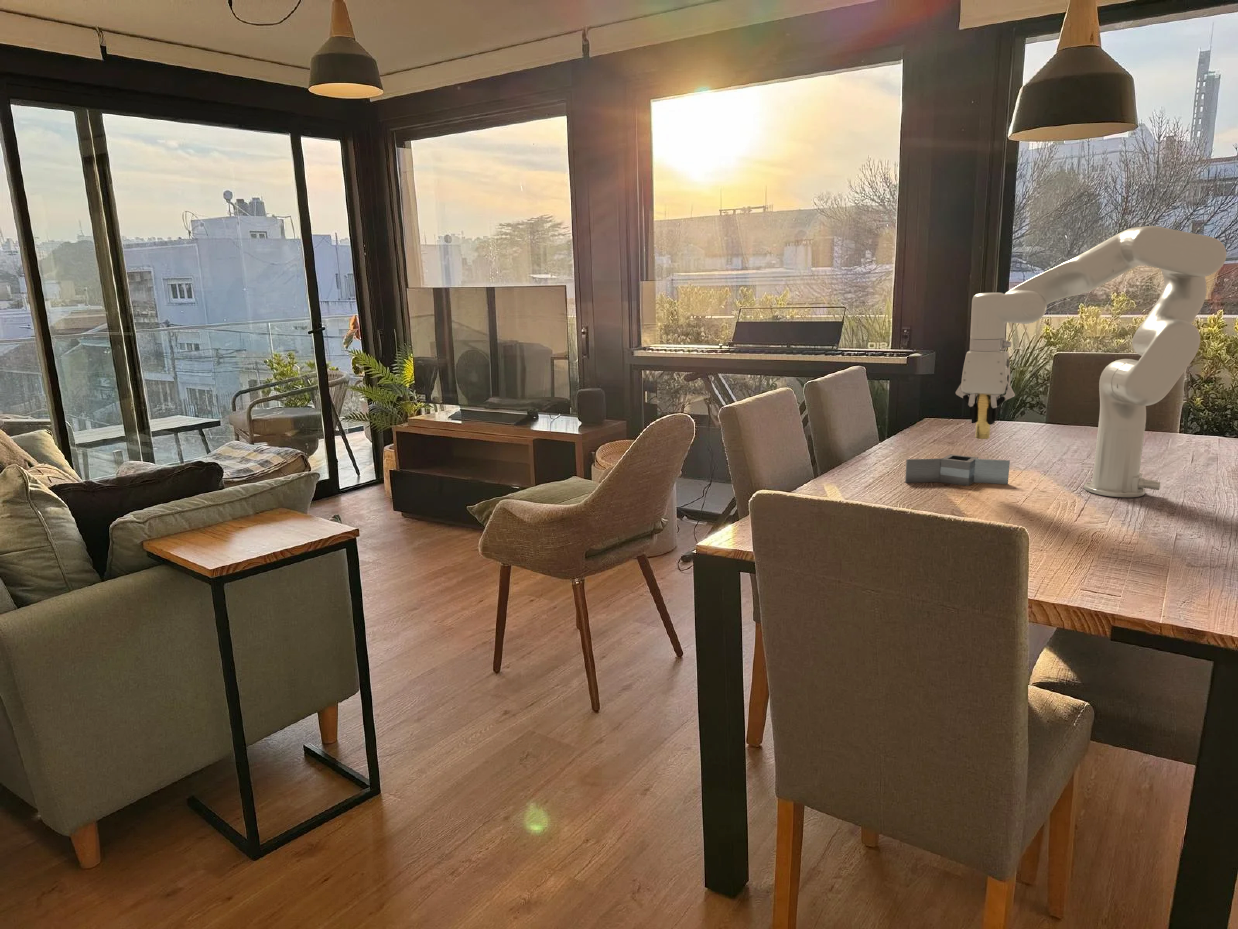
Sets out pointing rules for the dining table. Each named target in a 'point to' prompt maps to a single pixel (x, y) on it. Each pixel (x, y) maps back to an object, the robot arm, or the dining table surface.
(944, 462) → the grey winged square socket
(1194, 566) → the dining table surface
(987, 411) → the pin
